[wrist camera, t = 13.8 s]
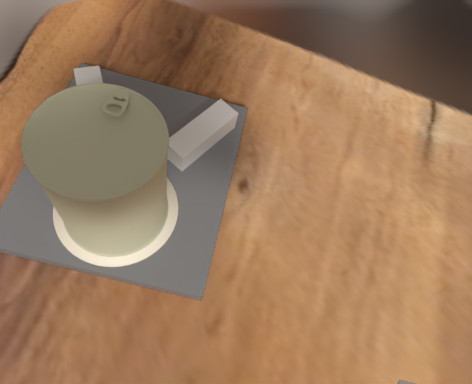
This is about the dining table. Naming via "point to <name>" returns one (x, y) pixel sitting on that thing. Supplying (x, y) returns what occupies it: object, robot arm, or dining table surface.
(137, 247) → the can
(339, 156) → the dining table surface
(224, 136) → the coupling stand
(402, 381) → the robot arm
